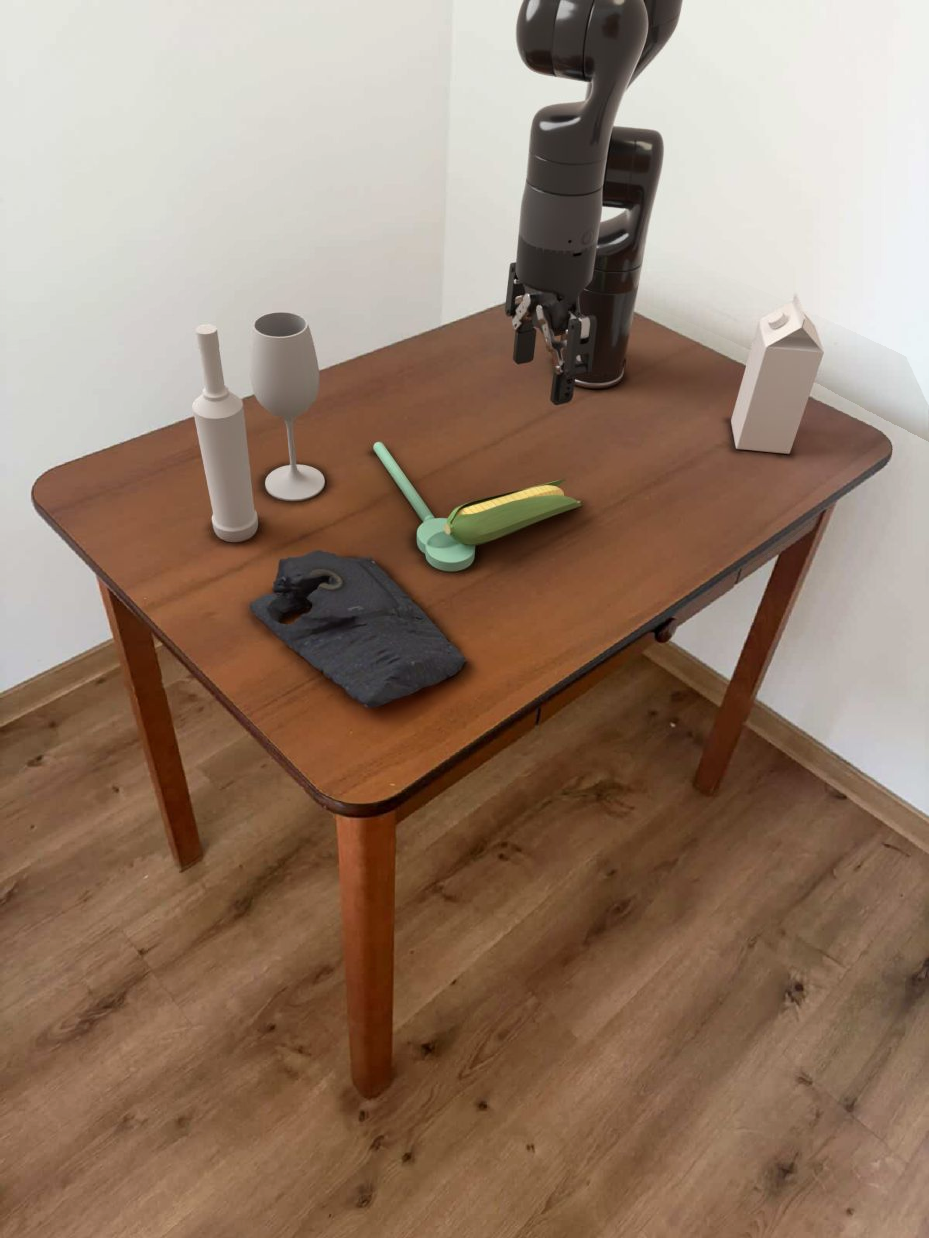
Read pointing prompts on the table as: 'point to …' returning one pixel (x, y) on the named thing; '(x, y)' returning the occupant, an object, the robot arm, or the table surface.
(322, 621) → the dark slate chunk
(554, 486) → the edible corn
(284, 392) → the wineglass
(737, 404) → the milk carton
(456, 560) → the spoon
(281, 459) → the table surface
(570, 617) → the table surface
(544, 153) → the robot arm
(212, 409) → the bottle
